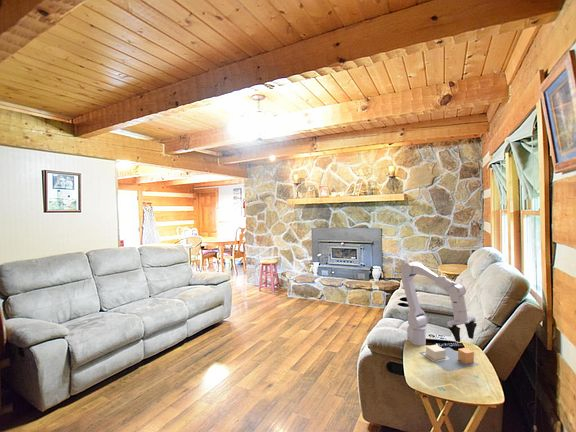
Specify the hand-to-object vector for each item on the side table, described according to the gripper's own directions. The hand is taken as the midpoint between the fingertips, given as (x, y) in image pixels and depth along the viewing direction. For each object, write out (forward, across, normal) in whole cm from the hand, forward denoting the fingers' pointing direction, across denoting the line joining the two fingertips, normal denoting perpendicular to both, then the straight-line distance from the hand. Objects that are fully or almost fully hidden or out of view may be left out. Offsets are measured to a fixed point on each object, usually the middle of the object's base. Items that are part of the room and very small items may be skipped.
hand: (464, 339), depth 142 cm
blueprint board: (+10, -6, +6) cm, 13 cm away
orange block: (+10, 0, +2) cm, 10 cm away
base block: (+8, -10, +10) cm, 16 cm away
